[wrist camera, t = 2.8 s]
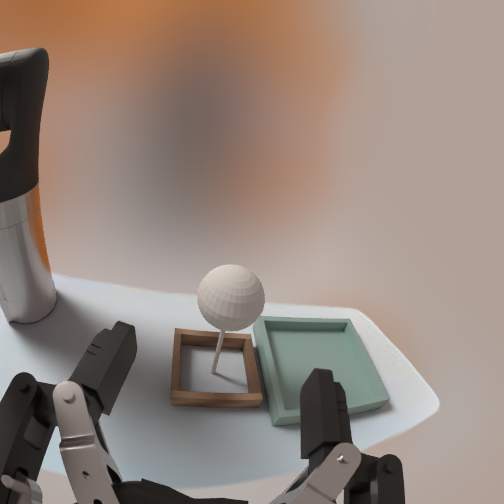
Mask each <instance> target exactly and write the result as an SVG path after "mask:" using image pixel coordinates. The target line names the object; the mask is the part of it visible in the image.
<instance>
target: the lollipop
mask: <svg viewBox="0 0 504 504" xmlns="http://www.w3.org/2000/svg"><path fill="white" fill-rule="evenodd" d="M264 303H265V297H264V290H263V287H262V284H261V282H260V281H259V279H258V278H257V276H256V275H255V274H254V273H252V272H251V271H250V270H248V269H247V268H244V267H242V266H239V265H233V264H230V265H223V266H219V267H217V268H215V269H213V270H211V271H210V272H209V273H208V274H207V275H206V276H205V277H204V279H203V280H202V282H201V283H200V286H199V290H198V306H199V309H200V312H201V313H202V315H203V317H204V318H205V319H206V321H207V322H208V323H210V324H211V325H212V326H214V327H216V328H218V329H220V330H221V331H220V335H219V340H218V344H217V348H216V353H215V357H214V361H213V366H212V370H211V373H212V374H214V373H215V370H216V366H217V362H218V358H219V354H220V350H221V346H222V342H223V338H224V334H225V331H239V330H242V329H245V328H247V327H248V326H250V325H251V324H253V323H254V322H255V321H256V320H257V319H258V317H259V316H260V314H261V313H262V311H263V307H264Z"/></svg>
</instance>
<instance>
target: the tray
mask: <svg viewBox="0 0 504 504" xmlns="http://www.w3.org/2000/svg"><path fill="white" fill-rule="evenodd" d="M253 331H254V336H255V341H256V346H257V352H258V357H259V362H260V367H261V372H262V377H263V382H264V387H265V392H266V397H267V402H268V407H269V411H270V416H271V421H272V426H277V425H288V424H297V423H301V422H300V392H301V388H302V386H303V384H304V383H305V381H306V380H307V378H308V377H309V375H310V374H311V372H312V371H313V369H314V368H320V369H329V370H332V372H333V378H334V382H340V384H341V385H342V387H343V389H344V391H345V394H346V400H347V402H346V404H347V407H348V411H347V412H348V414H349V415H352V414H357V413H361V412H366V411H370V410H374V409H378V408H380V407H381V406H382V405H384V404H385V403H386V402H387V401H388V400H389V399H390V398H389V396H388V394H387V391H386V389H385V387H384V385H383V383H382V381H381V379H380V377H379V375H378V373H377V371H376V369H375V367H374V365H373V363H372V361H371V359H370V357H369V355H368V353H367V351H366V349H365V347H364V345H363V343H362V341H361V339H360V337H359V335H358V333H357V331H356V329H355V328H354V326H353V324H352V322H351V320H350V319H322V318H291V317H270V316H259V317H258V319H257V320H256V321H255V323H254V326H253Z"/></svg>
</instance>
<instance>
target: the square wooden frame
mask: <svg viewBox="0 0 504 504" xmlns="http://www.w3.org/2000/svg"><path fill="white" fill-rule="evenodd" d="M219 335H220V332H208V331H197V330H187V329H177V328H175V335H174V348H173V363H172V381H171V404H173V405H185V406H201V407H259V405H260V403H261V402H262V400H263V397H262V392H261V387H260V381H259V376H258V371H257V365H256V360H255V355H254V349H253V344H252V338H251V334H236V333H225V334H224V338H223V342H222V346H221V347H226V348H242V350H243V357H244V364H245V370H246V377H247V383H248V389H249V393H207V392H191V391H179V368H180V345H181V344H187V345H198V346H211V347H217V344H218V340H219Z"/></svg>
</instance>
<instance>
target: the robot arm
mask: <svg viewBox="0 0 504 504" xmlns="http://www.w3.org/2000/svg"><path fill="white" fill-rule="evenodd" d="M48 70H49V58H48V53H47V51H46V50H45V49H44V48H29V49H23V50H17V51H12V52H8V53H3V54H0V132H2V131H7V130H11V135H10V141H9V145H8V146H7V148H6V149H5V150H4V151H3V152H2V153H1V154H0V305H1V308H2V310H3V312H4V315H5V317H6V319H7V321H8V322H11V321H16V322H20V323H32V322H35V321H38V320H40V319H42V318H44V317H45V316H46V315H48V314H49V312H50V311H51V310H52V309H53V307H54V306H55V303H56V298H57V296H56V291H55V287H54V282H53V278H52V274H51V270H50V265H49V260H48V255H47V250H46V244H45V238H44V231H43V224H42V216H41V208H40V195H39V177H38V176H39V175H38V156H39V132H40V122H41V114H42V108H43V102H44V96H45V91H46V85H47V79H48ZM136 353H137V342H136V334H135V327H134V326H133V325H130V324H127V323H124V322H121V321H117V322H116V324H115V325H114V327H113V328H112V330H109V329H106V328H105V329H104V330H102V331H101V332H100V333H98V334H97V335H96V336H95V338H94V339H93V341H92V343H91V345H90V346H89V347H88V349H87V352H85V354H84V355H83V357H82V359H81V360H80V362H79V364H78V365H77V367H76V369H75V370H74V372H73V374H72V376H71V377H70V378H69V379H68V380H67V381H64V382H61V383H59V384H58V385H53V384H47V383H42V382H37V381H36V379H35V378H34V377H33V376H32V375H31V374H29V373H26V372H22V373H19V374H17V375H16V376H15V377H14V378H13V380H12V381H11V383H10V385H9V387H8V389H7V391H6V392H5V394H4V396H3V398H2V400H1V402H0V504H42V491H41V489H40V487H39V485H38V484H37V483H36V481H37V477H38V474H39V471H40V468H41V465H42V462H43V459H44V456H45V453H46V450H47V447H48V445H49V442H50V439H51V437H52V434H53V431H54V429H55V426H58V427H59V431H60V436H61V443H60V444H59V448H60V453H61V456H62V460H63V463H64V466H65V470H66V473H67V476H68V478H69V482H70V484H71V487H72V490H73V492H74V495H75V497H76V500H77V503H74V504H248V501H242V500H233V499H227V498H210V499H194V498H190V497H189V496H186V495H184V494H182V493H180V492H178V491H176V490H174V489H172V488H170V487H168V486H165V485H161V484H158V483H155V482H152V481H148V480H145V479H142V480H141V481H125V482H124V481H123V479H122V477H121V474H120V472H119V470H118V468H117V466H116V464H115V462H114V460H113V458H112V456H111V454H110V451H109V449H108V446H107V443H106V440H105V437H104V434H103V431H102V428H101V425H100V422H99V418H100V416H101V414H102V413H104V414H106V415H108V416H109V415H110V412H111V410H112V408H113V405H114V403H115V401H116V399H117V396H118V394H119V392H120V390H121V387H122V385H123V383H124V381H125V379H126V377H127V374H128V372H129V370H130V368H131V366H132V364H133V362H134V359H135V357H136ZM346 402H347V400H346V394H345V391H344V389H343V387H342V385H341V384H340V382H334V378H333V372H332V370H329V369H320V368H314V369H313V371H312V372H311V374H310V375H309V377H308V378H307V380H306V381H305V383H304V384H303V386H302V388H301V392H300V422H301V459H309V465H308V466H307V467H306V468H305V469H304V470H303V471H302V473H301V474H300V475H299V476H298V477H297V478H296V479H295V480H294V482H293V483H292V484H291V485H290V486H289V487H288V488H287V489H286V490H285V491H284V492H283V493H282V494H281V495H279V496H278V497H276V498H275V499H274V500H273V501H272V502H271V503H269V504H336V501H335V500H336V498H337V497H338V495H339V494H340V492H341V491H342V490H343V489H344V504H405V494H404V493H405V492H404V479H403V469H402V463H401V461H400V459H399V458H398V457H397V456H395V455H391V454H387V455H384V456H383V457H381V458H378V457H374V456H370V455H366V454H363V453H361V452H360V451H359V449H358V448H357V447H356V446H355V445H353V442H352V437H351V429H350V421H349V414H348V412H347V411H348V407H347V404H346Z"/></svg>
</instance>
